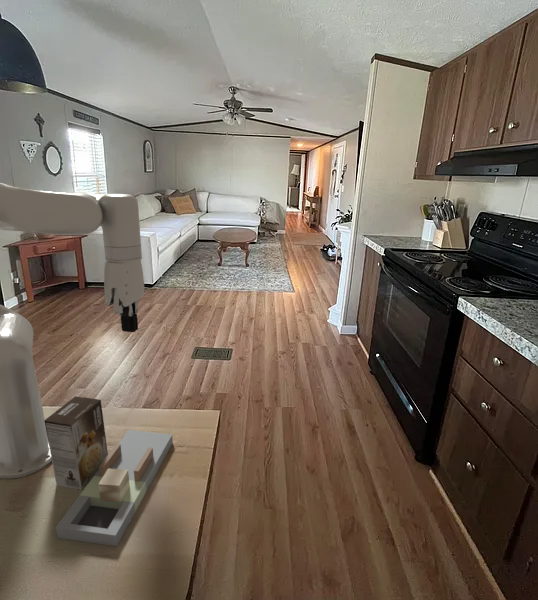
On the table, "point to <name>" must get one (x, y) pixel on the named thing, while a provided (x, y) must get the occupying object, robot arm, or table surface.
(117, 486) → the cream block
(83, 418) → the coffee box
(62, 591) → the table surface
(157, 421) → the table surface
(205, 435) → the table surface
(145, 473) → the recessed deck with rails
